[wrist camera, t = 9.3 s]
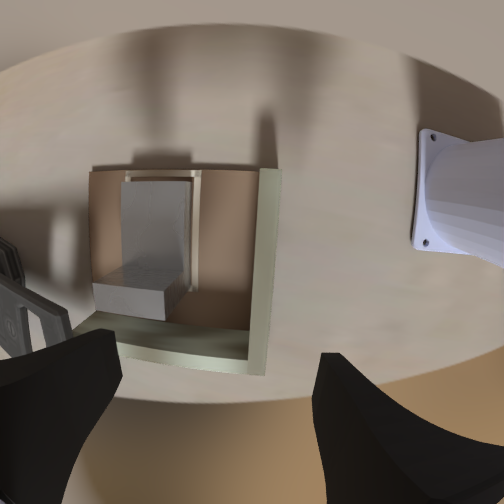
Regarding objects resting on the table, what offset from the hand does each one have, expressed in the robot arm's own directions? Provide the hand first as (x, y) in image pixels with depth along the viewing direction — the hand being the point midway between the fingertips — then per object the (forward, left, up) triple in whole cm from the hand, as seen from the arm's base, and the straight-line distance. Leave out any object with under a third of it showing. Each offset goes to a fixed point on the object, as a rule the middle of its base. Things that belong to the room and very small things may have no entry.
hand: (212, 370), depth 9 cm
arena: (+4, -1, -9) cm, 10 cm away
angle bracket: (+5, -3, -9) cm, 11 cm away
